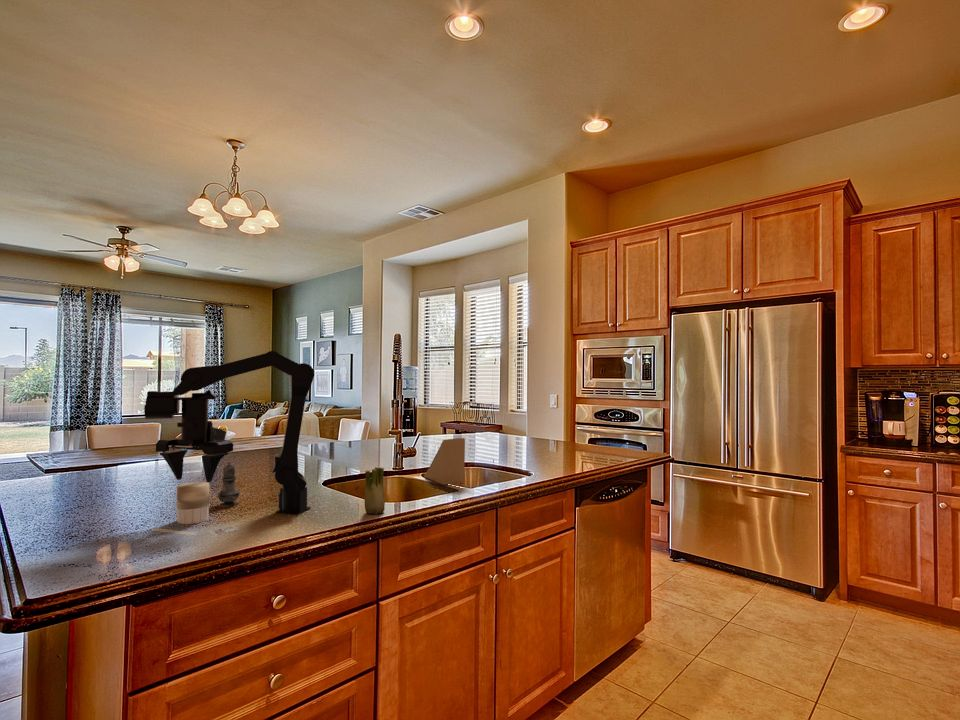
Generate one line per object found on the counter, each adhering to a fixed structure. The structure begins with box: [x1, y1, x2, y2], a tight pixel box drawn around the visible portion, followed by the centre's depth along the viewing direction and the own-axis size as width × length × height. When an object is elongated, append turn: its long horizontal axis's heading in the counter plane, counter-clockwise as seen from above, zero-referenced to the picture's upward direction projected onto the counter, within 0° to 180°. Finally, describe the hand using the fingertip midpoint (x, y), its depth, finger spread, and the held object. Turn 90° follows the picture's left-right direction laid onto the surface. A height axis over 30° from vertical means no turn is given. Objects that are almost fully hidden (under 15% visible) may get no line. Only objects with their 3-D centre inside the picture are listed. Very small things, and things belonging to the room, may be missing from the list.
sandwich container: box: [423, 437, 466, 486], centre depth 176 cm, size 9×15×15 cm, turn 31°
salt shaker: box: [216, 461, 241, 508], centre depth 140 cm, size 6×6×12 cm
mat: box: [151, 528, 200, 536], centre depth 110 cm, size 12×12×1 cm
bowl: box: [176, 504, 210, 525], centre depth 125 cm, size 7×7×4 cm
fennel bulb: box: [364, 466, 386, 515], centre depth 133 cm, size 6×5×12 cm
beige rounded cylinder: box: [176, 481, 210, 509], centre depth 125 cm, size 7×7×5 cm
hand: (194, 480), depth 125 cm, fingers open, 9 cm apart
